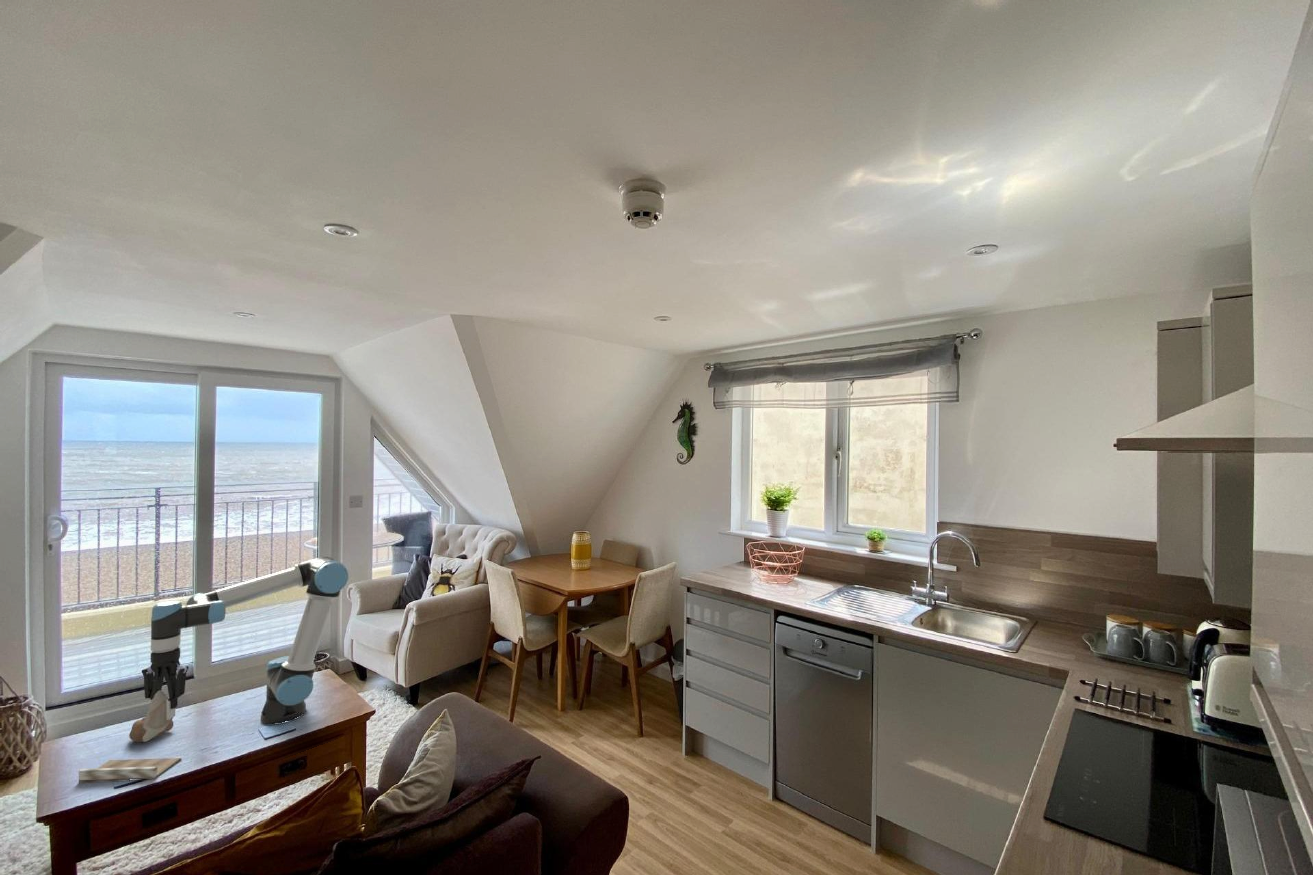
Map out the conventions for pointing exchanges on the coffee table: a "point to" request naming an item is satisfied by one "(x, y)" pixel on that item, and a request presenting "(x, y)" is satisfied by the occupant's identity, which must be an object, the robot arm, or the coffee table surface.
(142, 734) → the stone
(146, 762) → the plank
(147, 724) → the artifact
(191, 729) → the coffee table surface
